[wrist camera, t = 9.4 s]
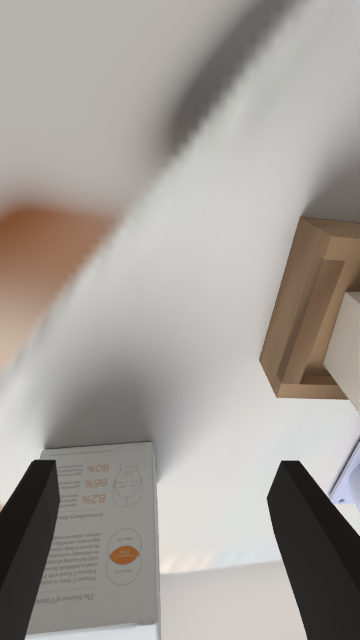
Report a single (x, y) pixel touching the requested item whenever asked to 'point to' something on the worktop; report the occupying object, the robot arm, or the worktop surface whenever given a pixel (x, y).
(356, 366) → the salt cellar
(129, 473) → the small box
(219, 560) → the worktop surface
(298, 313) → the wooden square tray
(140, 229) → the worktop surface
